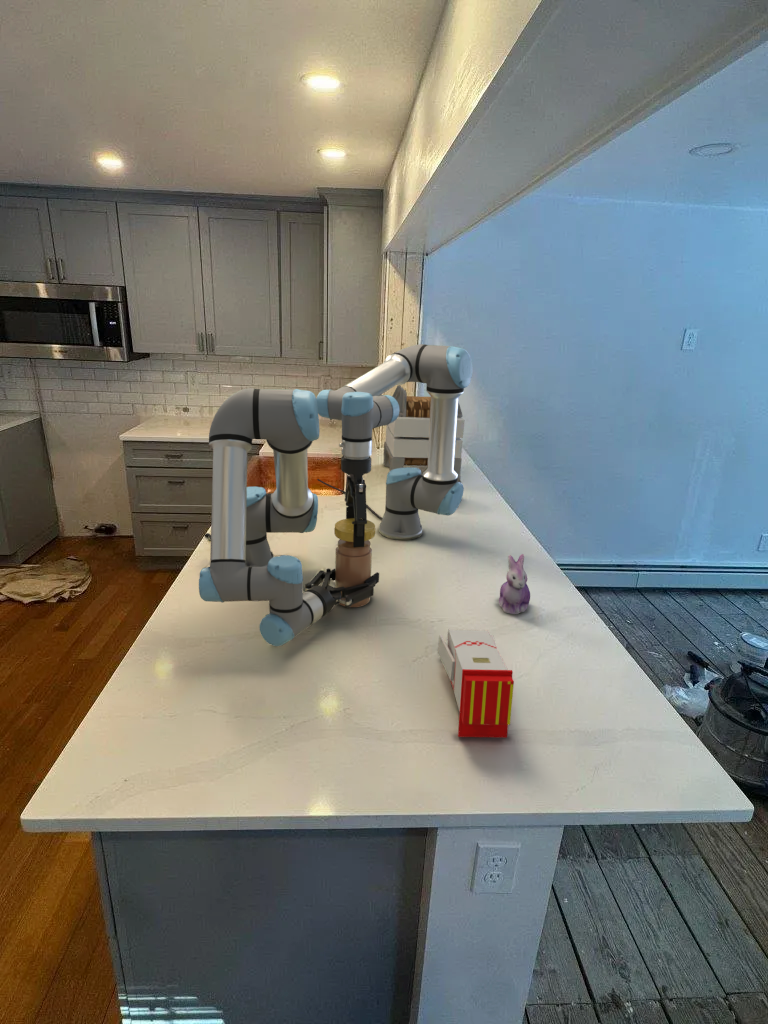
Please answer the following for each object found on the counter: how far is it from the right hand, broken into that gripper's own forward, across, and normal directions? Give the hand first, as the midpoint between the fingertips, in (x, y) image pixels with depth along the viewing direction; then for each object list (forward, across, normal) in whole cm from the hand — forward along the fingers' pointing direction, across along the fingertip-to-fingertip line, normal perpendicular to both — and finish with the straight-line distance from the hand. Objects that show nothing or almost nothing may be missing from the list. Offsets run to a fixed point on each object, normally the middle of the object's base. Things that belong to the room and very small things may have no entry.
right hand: (354, 537), depth 149 cm
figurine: (+18, +12, +42) cm, 47 cm away
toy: (+18, +44, +17) cm, 50 cm away
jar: (+18, 0, 0) cm, 18 cm away
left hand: (+12, -3, +3) cm, 12 cm away
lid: (-3, 0, 0) cm, 3 cm away
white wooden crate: (+19, -118, +54) cm, 131 cm away
